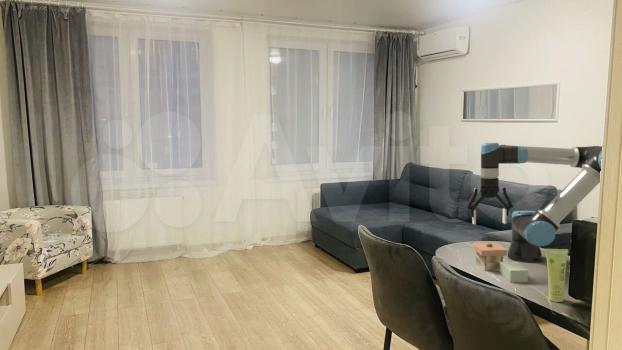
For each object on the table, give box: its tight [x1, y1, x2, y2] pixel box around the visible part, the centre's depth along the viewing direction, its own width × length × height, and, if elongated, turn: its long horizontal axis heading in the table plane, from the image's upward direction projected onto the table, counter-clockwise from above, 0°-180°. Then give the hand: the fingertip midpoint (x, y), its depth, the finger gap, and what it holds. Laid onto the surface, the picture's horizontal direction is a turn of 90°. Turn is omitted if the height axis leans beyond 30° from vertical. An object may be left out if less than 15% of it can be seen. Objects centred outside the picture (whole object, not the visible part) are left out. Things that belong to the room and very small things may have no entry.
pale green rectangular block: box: [499, 260, 529, 283], centre depth 194 cm, size 7×12×5 cm, turn 178°
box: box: [475, 251, 504, 272], centre depth 209 cm, size 8×12×7 cm, turn 178°
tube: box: [544, 248, 569, 303], centre depth 167 cm, size 6×5×20 cm
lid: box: [472, 241, 508, 257], centre depth 208 cm, size 11×13×4 cm
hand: (489, 223), depth 207 cm, fingers open, 13 cm apart
